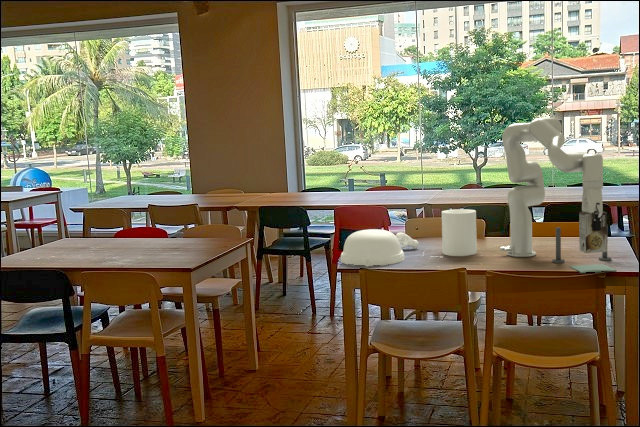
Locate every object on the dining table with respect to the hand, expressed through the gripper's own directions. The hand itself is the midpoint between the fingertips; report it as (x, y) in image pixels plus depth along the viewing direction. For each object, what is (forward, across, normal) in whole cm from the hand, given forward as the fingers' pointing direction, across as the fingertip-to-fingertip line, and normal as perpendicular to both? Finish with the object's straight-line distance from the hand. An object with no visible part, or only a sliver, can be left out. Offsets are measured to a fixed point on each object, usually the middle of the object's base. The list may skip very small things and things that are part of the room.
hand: (592, 228), depth 275 cm
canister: (+17, -49, -44) cm, 68 cm away
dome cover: (+17, -44, -86) cm, 98 cm away
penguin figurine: (+16, -65, -67) cm, 95 cm away
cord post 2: (+17, -17, +12) cm, 27 cm away
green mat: (+17, 0, 0) cm, 17 cm away
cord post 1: (+17, -17, -8) cm, 25 cm away
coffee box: (+9, 0, 0) cm, 9 cm away
